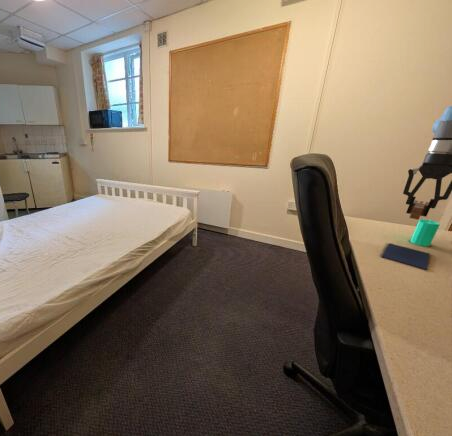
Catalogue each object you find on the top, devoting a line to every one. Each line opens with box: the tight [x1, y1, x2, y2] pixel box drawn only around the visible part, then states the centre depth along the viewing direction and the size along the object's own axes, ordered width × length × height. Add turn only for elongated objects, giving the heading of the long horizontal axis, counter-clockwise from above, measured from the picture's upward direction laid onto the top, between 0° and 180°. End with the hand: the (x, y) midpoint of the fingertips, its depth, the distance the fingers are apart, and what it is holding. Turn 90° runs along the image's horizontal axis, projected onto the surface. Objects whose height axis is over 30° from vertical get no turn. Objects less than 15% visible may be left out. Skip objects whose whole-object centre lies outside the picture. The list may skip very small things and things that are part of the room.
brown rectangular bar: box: [409, 199, 430, 221], centre depth 86 cm, size 14×4×4 cm, turn 128°
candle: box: [410, 218, 441, 247], centre depth 98 cm, size 6×6×12 cm
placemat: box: [381, 243, 430, 271], centre depth 90 cm, size 18×12×1 cm, turn 129°
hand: (416, 213), depth 87 cm, fingers closed on brown rectangular bar, 4 cm apart
